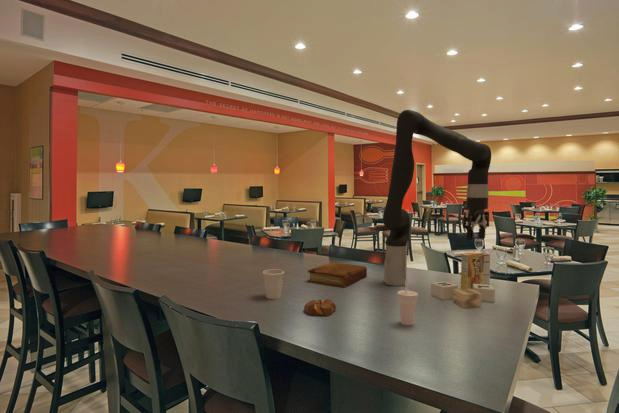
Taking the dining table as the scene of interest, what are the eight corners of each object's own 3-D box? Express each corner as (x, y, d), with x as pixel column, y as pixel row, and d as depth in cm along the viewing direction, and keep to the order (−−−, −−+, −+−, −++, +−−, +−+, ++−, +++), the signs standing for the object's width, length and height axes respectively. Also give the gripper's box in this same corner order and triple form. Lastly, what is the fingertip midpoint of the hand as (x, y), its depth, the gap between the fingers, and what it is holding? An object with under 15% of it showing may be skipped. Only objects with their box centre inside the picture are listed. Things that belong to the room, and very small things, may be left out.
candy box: (474, 287, 164) (476, 252, 164) (483, 289, 161) (484, 253, 160) (459, 289, 161) (461, 253, 160) (468, 292, 157) (469, 255, 156)
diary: (345, 289, 162) (345, 275, 162) (307, 283, 172) (307, 270, 172) (366, 277, 182) (366, 266, 182) (332, 272, 192) (332, 261, 191)
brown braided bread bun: (318, 304, 140) (318, 294, 140) (343, 310, 133) (343, 300, 133) (297, 312, 131) (297, 301, 131) (322, 319, 124) (322, 308, 124)
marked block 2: (474, 301, 145) (474, 287, 145) (472, 296, 152) (472, 283, 152) (494, 302, 143) (494, 289, 143) (491, 297, 150) (492, 284, 150)
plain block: (463, 308, 137) (463, 294, 137) (453, 302, 144) (453, 289, 143) (481, 307, 138) (481, 293, 138) (470, 301, 145) (470, 288, 144)
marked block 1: (443, 300, 146) (443, 286, 146) (430, 295, 153) (431, 282, 152) (457, 298, 149) (457, 285, 149) (444, 293, 155) (444, 280, 155)
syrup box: (490, 286, 166) (491, 253, 165) (475, 285, 167) (476, 252, 167) (486, 283, 172) (487, 251, 171) (472, 282, 173) (473, 250, 172)
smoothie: (394, 319, 124) (394, 277, 123) (413, 319, 124) (414, 276, 124) (400, 327, 117) (401, 282, 117) (420, 326, 118) (421, 281, 117)
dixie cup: (267, 301, 143) (267, 274, 142) (259, 295, 150) (259, 270, 149) (287, 298, 146) (287, 272, 146) (279, 292, 154) (279, 268, 153)
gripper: (476, 196, 137) (475, 241, 138) (496, 196, 146) (495, 238, 146) (457, 196, 143) (456, 239, 144) (477, 196, 152) (476, 236, 152)
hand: (476, 239), depth 145 cm, fingers open, 8 cm apart
